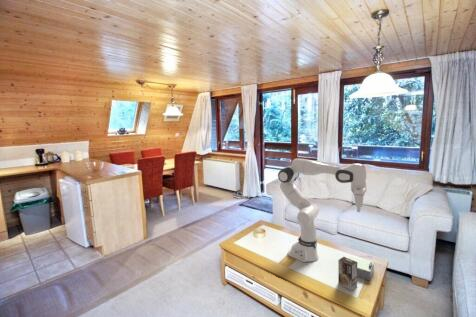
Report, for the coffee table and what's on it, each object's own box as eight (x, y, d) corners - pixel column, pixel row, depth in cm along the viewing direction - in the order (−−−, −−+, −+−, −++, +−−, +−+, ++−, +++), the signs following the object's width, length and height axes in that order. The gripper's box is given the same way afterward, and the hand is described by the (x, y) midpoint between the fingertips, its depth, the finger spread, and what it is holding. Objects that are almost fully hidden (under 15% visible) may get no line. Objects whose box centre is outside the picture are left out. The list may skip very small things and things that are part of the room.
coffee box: (357, 286, 148) (358, 262, 146) (351, 291, 144) (352, 265, 142) (343, 279, 155) (343, 256, 153) (337, 283, 152) (338, 259, 150)
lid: (345, 265, 162) (345, 261, 161) (350, 257, 171) (350, 253, 171) (370, 272, 153) (370, 268, 152) (373, 263, 162) (373, 259, 162)
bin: (345, 272, 162) (345, 265, 162) (350, 264, 172) (350, 257, 171) (370, 280, 153) (370, 272, 153) (373, 271, 163) (373, 263, 162)
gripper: (352, 184, 166) (352, 204, 168) (353, 192, 148) (353, 213, 149) (363, 185, 163) (362, 205, 165) (364, 192, 145) (364, 215, 146)
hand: (358, 209), depth 157 cm, fingers open, 8 cm apart
